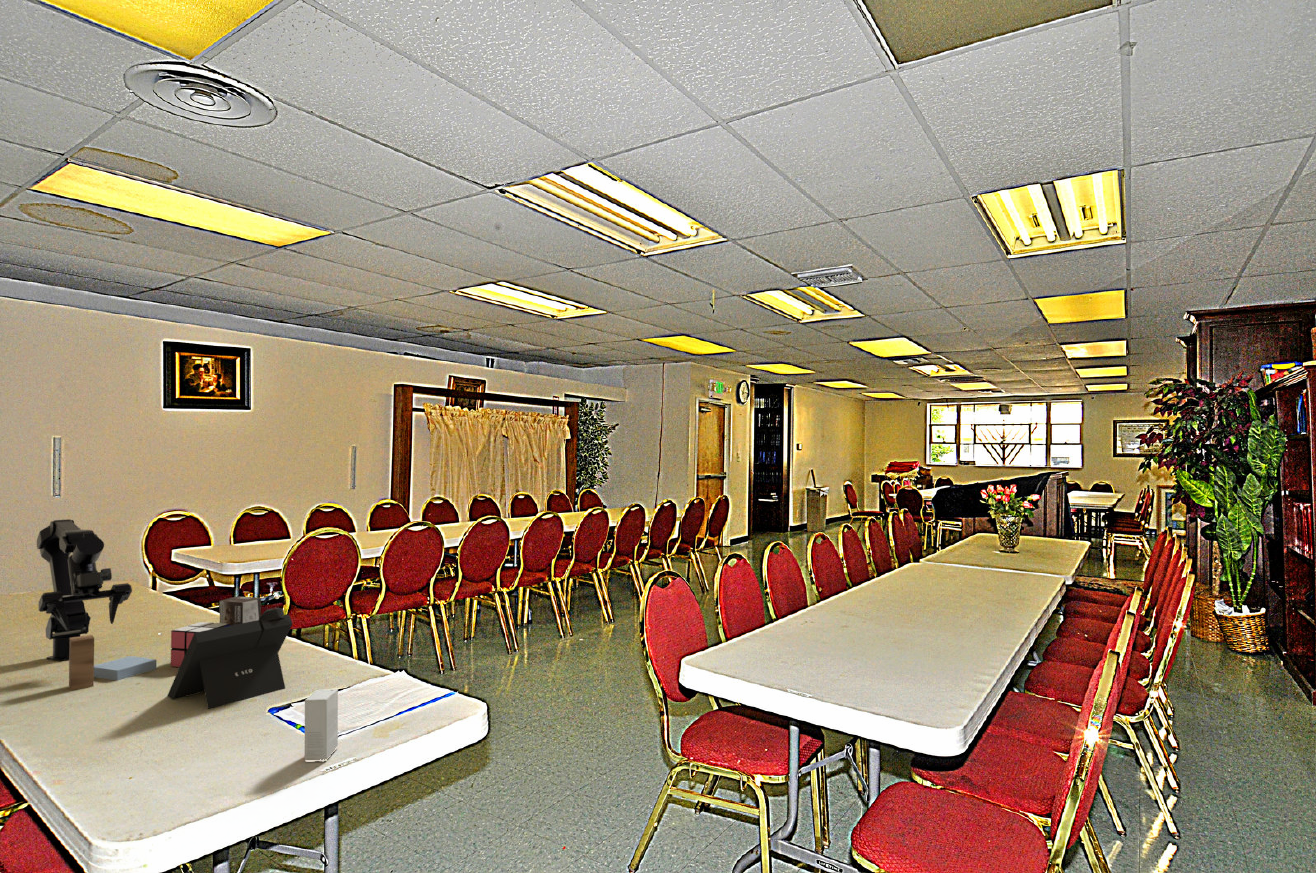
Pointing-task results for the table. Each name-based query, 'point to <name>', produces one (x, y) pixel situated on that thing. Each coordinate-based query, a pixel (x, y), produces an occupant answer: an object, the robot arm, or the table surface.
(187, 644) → the puzzle cube
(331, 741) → the skincare box
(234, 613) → the coffee box
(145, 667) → the blue block
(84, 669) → the walnut post
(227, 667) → the office phone
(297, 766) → the table surface
